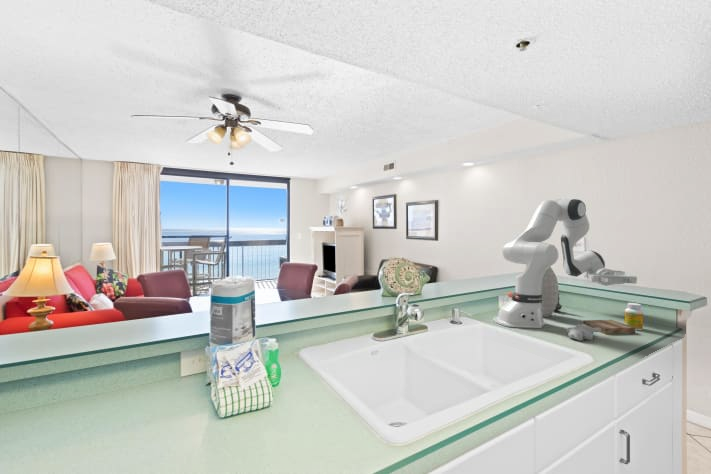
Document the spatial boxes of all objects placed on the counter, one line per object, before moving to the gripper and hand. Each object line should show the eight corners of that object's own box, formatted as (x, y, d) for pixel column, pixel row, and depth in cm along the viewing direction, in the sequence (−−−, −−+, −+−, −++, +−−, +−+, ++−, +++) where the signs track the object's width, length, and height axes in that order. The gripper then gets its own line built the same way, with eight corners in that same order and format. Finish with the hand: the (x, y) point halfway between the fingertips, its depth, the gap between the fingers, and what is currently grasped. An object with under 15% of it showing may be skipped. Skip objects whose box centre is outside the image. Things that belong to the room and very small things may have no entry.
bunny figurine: (561, 327, 136) (579, 318, 143) (561, 339, 136) (580, 330, 143) (586, 334, 127) (604, 324, 135) (586, 346, 128) (605, 336, 135)
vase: (532, 317, 165) (533, 262, 164) (527, 311, 177) (528, 260, 176) (561, 319, 161) (562, 263, 160) (553, 313, 173) (555, 260, 172)
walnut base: (605, 334, 140) (605, 328, 140) (583, 325, 152) (583, 320, 152) (635, 333, 141) (635, 327, 141) (611, 325, 153) (611, 319, 153)
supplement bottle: (626, 329, 147) (627, 304, 146) (622, 325, 152) (623, 301, 152) (644, 331, 144) (645, 306, 143) (640, 327, 149) (641, 303, 149)
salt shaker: (558, 310, 180) (559, 288, 179) (564, 313, 174) (564, 291, 173) (547, 310, 180) (547, 288, 180) (552, 312, 174) (553, 290, 174)
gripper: (583, 270, 174) (596, 273, 161) (626, 271, 170) (644, 275, 157) (582, 281, 174) (596, 286, 161) (626, 283, 170) (643, 288, 157)
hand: (620, 281), depth 159 cm, fingers open, 8 cm apart
